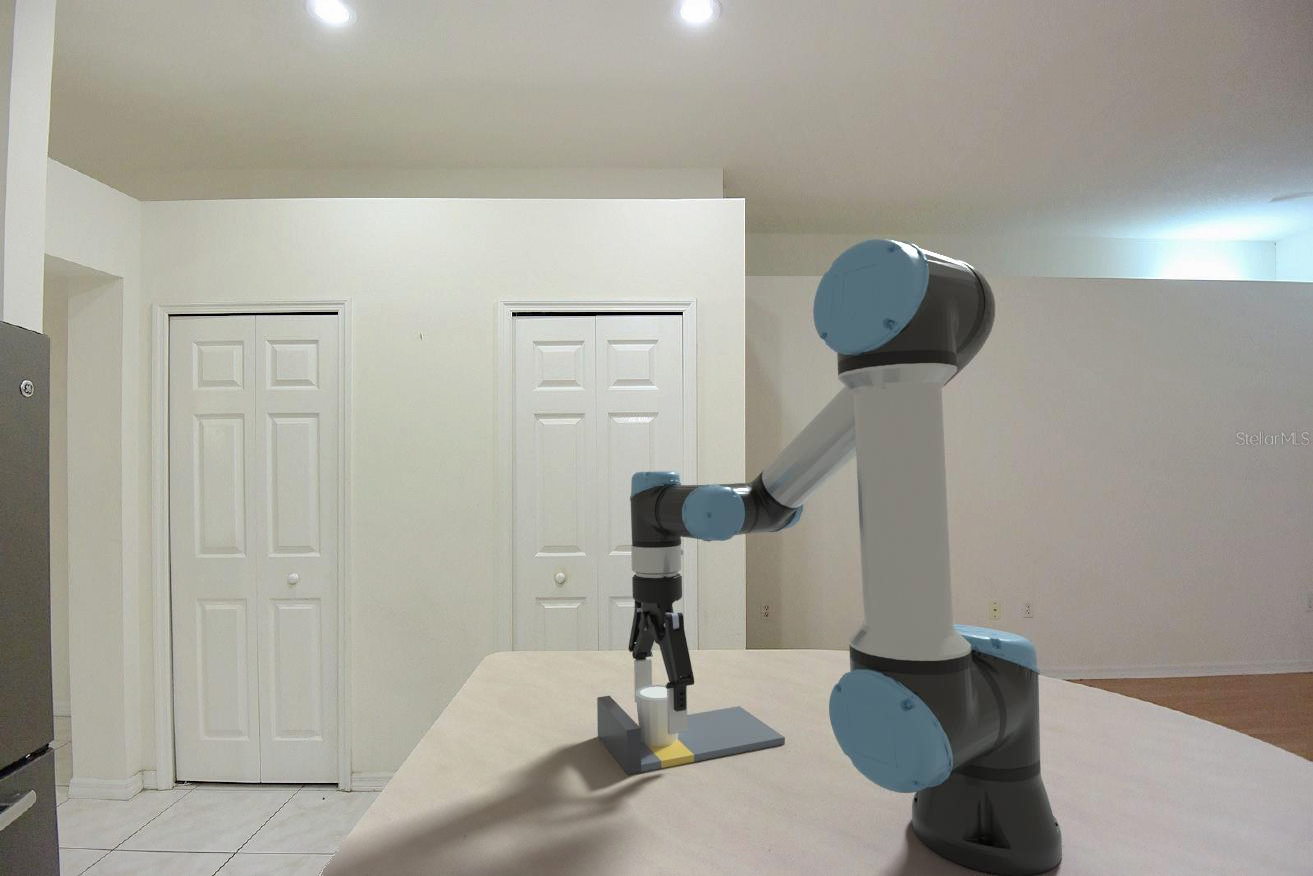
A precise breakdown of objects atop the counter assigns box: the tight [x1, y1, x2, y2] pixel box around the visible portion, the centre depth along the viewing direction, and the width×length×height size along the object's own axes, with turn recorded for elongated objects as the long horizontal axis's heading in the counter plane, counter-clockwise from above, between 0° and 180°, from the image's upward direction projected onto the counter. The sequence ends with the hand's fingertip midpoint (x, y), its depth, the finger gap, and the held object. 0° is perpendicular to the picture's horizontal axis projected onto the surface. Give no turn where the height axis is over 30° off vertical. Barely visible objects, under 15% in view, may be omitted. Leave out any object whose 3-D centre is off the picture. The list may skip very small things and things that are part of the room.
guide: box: [596, 695, 786, 775], centre depth 103 cm, size 14×25×6 cm, turn 112°
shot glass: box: [635, 684, 678, 747], centre depth 102 cm, size 7×7×7 cm
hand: (659, 716), depth 101 cm, fingers open, 13 cm apart
